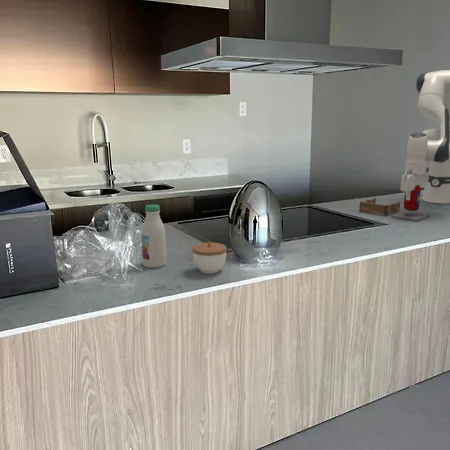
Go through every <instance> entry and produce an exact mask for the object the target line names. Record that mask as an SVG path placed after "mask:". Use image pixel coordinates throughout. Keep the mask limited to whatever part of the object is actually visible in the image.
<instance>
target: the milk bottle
mask: <svg viewBox="0 0 450 450" xmlns="http://www.w3.org/2000/svg"><path fill="white" fill-rule="evenodd" d="M144 207H145V208H144V210H145V219H144V221H143V225H142V228H141V251H142V252H141V253H142V264H143V266H144V267H146V268H148V269H155V268H156V269H158V268H162V267H165V266H166V265H167V240H166V237H167V235H166V229H165V225H164V223H163V221H162V219H161V215H160V211H161V210H160V209H161V208H160V207H161V206H160V205H159V204H146V205H145V206H144Z"/></svg>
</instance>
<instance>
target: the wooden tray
mask: <svg viewBox="0 0 450 450" xmlns="http://www.w3.org/2000/svg"><path fill="white" fill-rule="evenodd" d="M376 201H377V198H374V197H373V198H370V199H366V200H363V201H359V209H358V211H359V213H364V214H370V215H376V216H381V217H389V216H392V215H394V214H397V213H400V211H401V210H400V209H401V208H400V207H401V201H396V202H392V203H390V204H387V205H385V204H378V203H377V202H376Z"/></svg>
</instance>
